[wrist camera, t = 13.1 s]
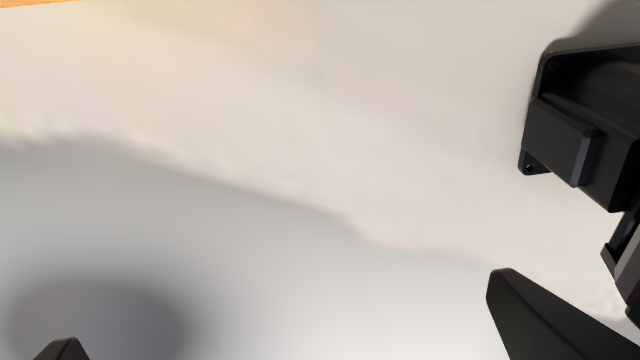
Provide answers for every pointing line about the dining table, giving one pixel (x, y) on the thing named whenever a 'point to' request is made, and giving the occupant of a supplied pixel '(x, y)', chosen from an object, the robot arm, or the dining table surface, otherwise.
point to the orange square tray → (27, 2)
